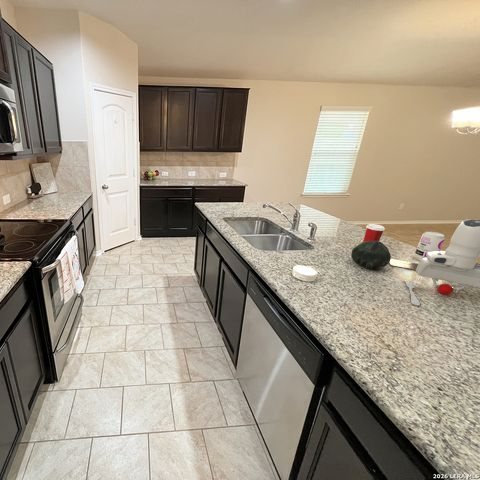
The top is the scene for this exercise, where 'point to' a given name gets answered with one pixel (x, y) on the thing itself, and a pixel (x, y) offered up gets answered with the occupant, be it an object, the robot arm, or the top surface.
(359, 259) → the squash
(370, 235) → the coffee cup
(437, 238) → the supplement can
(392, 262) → the serving board
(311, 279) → the coaster
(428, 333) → the top surface
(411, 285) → the fork
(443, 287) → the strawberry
